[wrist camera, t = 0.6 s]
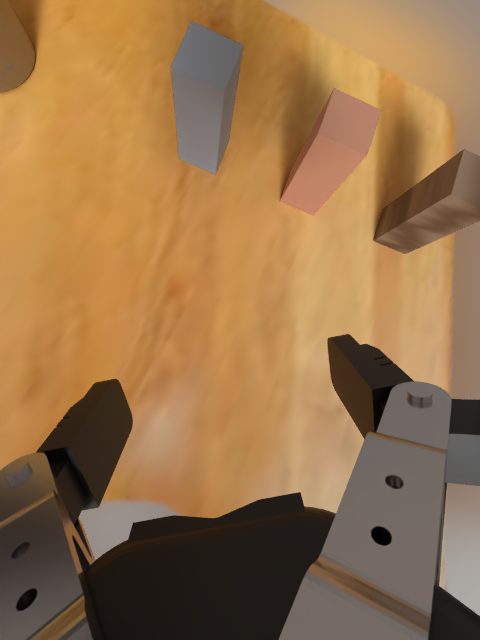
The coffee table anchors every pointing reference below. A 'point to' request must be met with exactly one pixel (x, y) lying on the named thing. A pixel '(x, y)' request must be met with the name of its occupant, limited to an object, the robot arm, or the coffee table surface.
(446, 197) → the pillar walnut
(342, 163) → the pillar terracotta
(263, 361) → the coffee table surface
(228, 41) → the pillar slate
